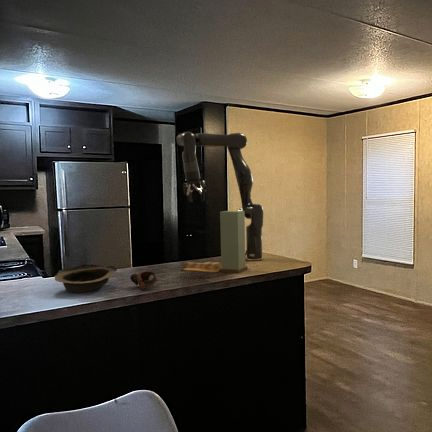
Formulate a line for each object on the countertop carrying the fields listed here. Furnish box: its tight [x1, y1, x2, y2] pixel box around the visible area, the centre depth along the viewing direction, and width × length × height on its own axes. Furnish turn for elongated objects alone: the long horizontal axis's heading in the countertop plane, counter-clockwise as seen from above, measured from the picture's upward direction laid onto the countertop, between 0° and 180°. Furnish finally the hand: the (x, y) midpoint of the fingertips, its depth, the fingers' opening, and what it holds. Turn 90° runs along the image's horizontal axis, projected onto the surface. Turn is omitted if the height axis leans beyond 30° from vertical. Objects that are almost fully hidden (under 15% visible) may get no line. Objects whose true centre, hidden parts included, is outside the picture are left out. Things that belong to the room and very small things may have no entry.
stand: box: [218, 210, 249, 274], centre depth 230 cm, size 11×11×31 cm
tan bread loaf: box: [184, 256, 221, 270], centre depth 236 cm, size 20×6×6 cm, turn 69°
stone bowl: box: [54, 263, 118, 294], centre depth 193 cm, size 25×25×9 cm
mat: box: [181, 267, 221, 274], centre depth 236 cm, size 20×14×1 cm
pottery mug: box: [129, 270, 158, 291], centre depth 195 cm, size 12×10×8 cm
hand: (197, 201), depth 232 cm, fingers open, 8 cm apart
